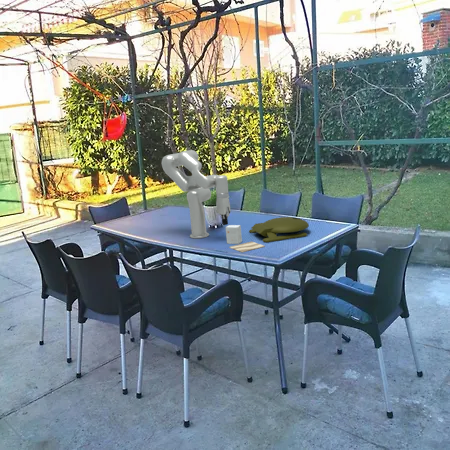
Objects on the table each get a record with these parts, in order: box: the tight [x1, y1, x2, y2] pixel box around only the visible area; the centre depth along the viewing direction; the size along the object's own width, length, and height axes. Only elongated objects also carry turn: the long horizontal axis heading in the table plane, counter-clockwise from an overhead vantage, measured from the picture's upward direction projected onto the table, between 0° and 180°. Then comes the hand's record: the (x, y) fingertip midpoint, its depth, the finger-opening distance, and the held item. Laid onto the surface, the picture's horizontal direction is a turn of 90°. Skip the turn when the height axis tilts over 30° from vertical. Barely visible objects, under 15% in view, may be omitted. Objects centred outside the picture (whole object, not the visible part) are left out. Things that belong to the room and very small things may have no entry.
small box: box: [225, 224, 243, 245], centre depth 288 cm, size 8×6×10 cm
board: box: [228, 241, 266, 253], centre depth 277 cm, size 14×16×1 cm
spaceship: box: [248, 216, 310, 243], centre depth 301 cm, size 35×31×10 cm
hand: (225, 224), depth 295 cm, fingers closed
